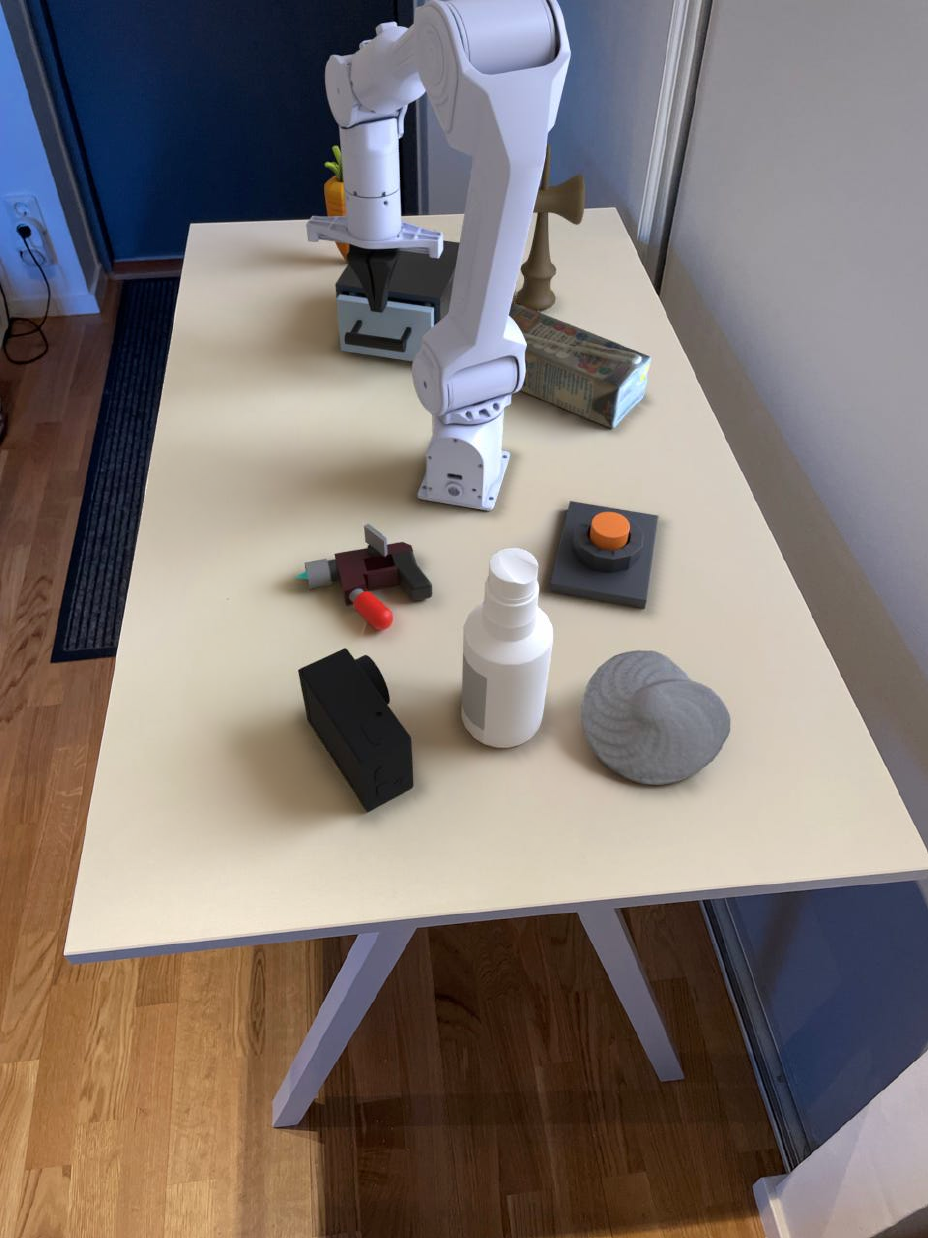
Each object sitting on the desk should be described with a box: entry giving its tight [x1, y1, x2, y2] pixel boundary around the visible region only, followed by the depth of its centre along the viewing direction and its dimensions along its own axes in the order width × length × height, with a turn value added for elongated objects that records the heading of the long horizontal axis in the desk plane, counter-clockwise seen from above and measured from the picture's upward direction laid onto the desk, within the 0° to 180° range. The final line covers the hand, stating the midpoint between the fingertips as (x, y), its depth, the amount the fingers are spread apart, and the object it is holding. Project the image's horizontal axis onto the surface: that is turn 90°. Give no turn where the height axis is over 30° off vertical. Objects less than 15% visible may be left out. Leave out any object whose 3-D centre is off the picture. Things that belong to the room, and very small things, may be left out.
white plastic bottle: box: [461, 547, 554, 749], centre depth 70 cm, size 7×7×18 cm
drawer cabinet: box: [334, 239, 460, 326], centre depth 113 cm, size 14×13×9 cm
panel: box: [549, 500, 659, 610], centre depth 89 cm, size 12×9×3 cm
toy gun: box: [295, 523, 433, 631], centre depth 84 cm, size 10×12×5 cm
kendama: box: [516, 143, 586, 311], centre depth 114 cm, size 6×10×20 cm, turn 91°
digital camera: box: [297, 647, 415, 813], centre depth 72 cm, size 10×5×7 cm, turn 33°
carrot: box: [323, 145, 349, 263], centre depth 122 cm, size 5×5×15 cm
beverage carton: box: [509, 302, 652, 430], centre depth 106 cm, size 8×19×7 cm, turn 55°
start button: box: [590, 512, 630, 550], centre depth 87 cm, size 4×4×2 cm
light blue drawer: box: [335, 292, 434, 362], centre depth 111 cm, size 17×11×7 cm
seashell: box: [580, 649, 732, 786], centre depth 74 cm, size 12×6×10 cm
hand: (378, 307), depth 104 cm, fingers closed
